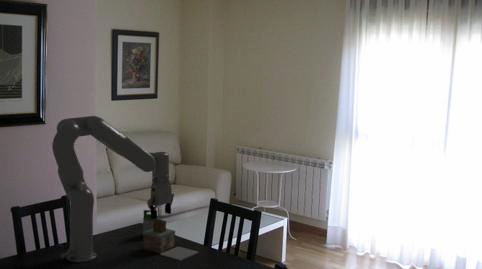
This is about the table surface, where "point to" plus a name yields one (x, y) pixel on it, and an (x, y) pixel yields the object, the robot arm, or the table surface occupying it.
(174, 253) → the felt mat
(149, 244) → the keepsake box
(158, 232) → the lid
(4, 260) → the table surface
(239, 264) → the table surface
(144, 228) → the ink box
